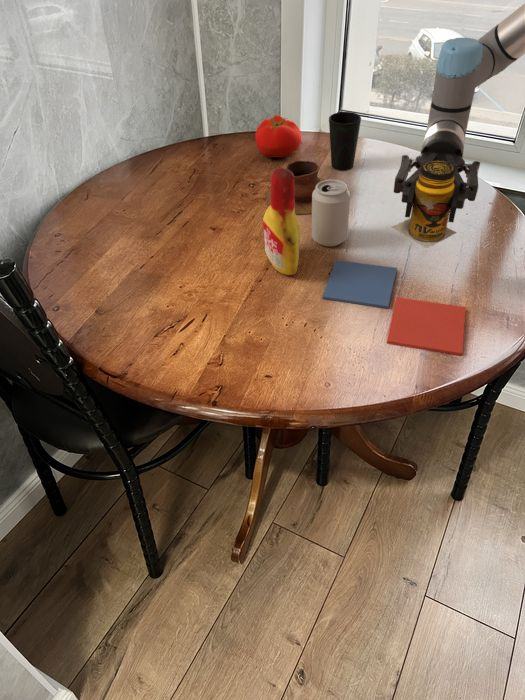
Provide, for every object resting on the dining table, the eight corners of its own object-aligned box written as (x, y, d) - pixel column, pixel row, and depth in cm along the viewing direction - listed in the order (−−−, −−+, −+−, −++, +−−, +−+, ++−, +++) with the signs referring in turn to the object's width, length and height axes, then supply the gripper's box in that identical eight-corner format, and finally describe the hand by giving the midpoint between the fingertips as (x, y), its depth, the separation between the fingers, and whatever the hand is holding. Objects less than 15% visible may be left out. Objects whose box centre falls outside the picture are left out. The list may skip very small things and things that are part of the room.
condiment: (426, 248, 89) (439, 181, 81) (390, 227, 95) (398, 162, 86) (457, 233, 92) (472, 166, 84) (420, 214, 97) (431, 149, 89)
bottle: (306, 278, 104) (307, 181, 90) (274, 284, 103) (270, 187, 89) (291, 245, 113) (289, 152, 99) (261, 250, 112) (255, 157, 98)
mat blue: (396, 270, 104) (397, 267, 104) (388, 308, 96) (388, 306, 96) (335, 262, 107) (335, 259, 107) (322, 298, 99) (322, 296, 99)
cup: (326, 159, 141) (328, 112, 132) (356, 158, 140) (359, 111, 132) (328, 173, 135) (329, 124, 127) (358, 172, 135) (362, 123, 126)
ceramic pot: (265, 216, 121) (264, 187, 117) (264, 179, 134) (263, 152, 129) (346, 212, 121) (347, 183, 116) (336, 175, 134) (338, 148, 129)
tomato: (297, 165, 139) (297, 132, 133) (250, 162, 142) (248, 130, 136) (305, 144, 148) (306, 112, 142) (261, 142, 150) (260, 110, 144)
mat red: (465, 309, 95) (465, 306, 95) (461, 355, 87) (462, 353, 87) (396, 299, 98) (396, 296, 98) (386, 343, 90) (387, 340, 90)
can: (316, 227, 117) (317, 175, 109) (350, 232, 115) (354, 179, 107) (307, 245, 112) (307, 192, 104) (342, 251, 110) (346, 197, 102)
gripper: (491, 174, 101) (488, 240, 85) (388, 164, 106) (367, 225, 90) (501, 134, 96) (500, 196, 80) (393, 126, 101) (371, 184, 85)
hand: (430, 212), depth 85 cm, fingers closed on condiment, 6 cm apart
